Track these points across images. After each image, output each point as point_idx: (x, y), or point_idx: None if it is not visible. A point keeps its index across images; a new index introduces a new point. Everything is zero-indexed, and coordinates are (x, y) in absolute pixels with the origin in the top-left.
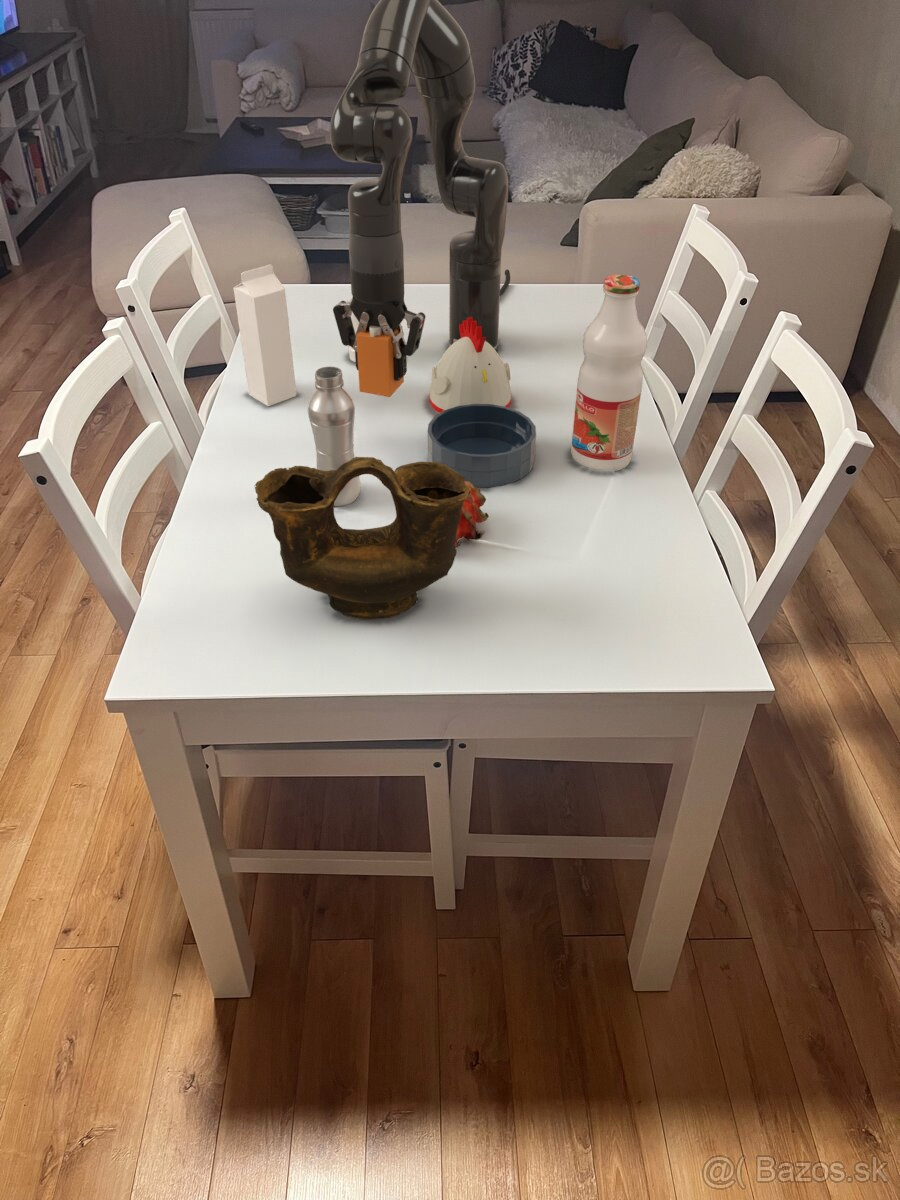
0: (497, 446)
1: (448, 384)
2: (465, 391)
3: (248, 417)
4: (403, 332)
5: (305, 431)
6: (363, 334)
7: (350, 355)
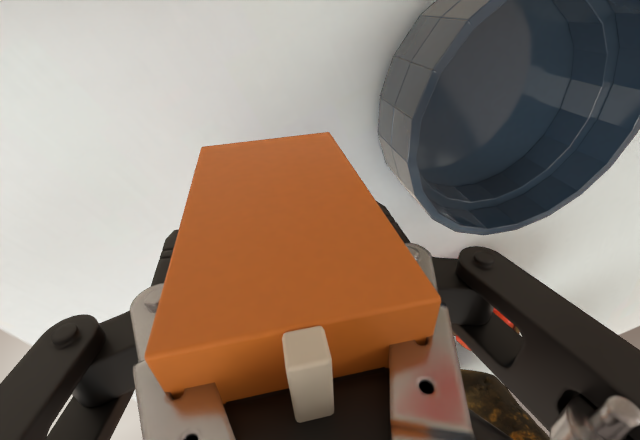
0: (517, 30)
1: None
2: None
3: None
4: (447, 308)
5: (45, 153)
6: None
7: None
